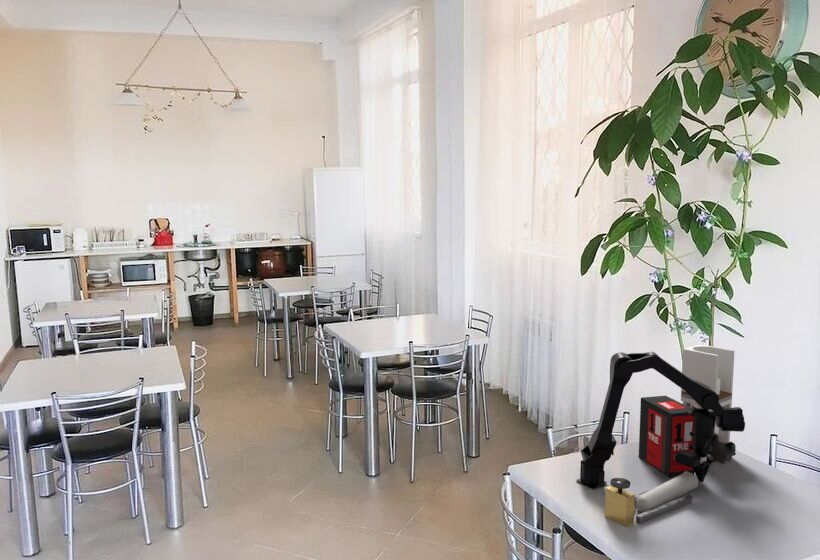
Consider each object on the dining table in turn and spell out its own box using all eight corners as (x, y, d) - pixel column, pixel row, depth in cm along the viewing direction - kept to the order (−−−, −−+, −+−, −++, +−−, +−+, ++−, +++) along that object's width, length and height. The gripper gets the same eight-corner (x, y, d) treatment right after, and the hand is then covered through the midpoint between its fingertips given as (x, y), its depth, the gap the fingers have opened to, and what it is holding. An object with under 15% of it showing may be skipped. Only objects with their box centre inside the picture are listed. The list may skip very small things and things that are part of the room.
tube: (651, 505, 184) (700, 479, 200) (634, 492, 188) (684, 467, 203) (645, 520, 186) (694, 493, 202) (628, 508, 190) (678, 482, 205)
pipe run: (599, 515, 186) (600, 477, 185) (663, 491, 201) (665, 455, 200) (626, 529, 179) (628, 490, 177) (692, 503, 193) (693, 466, 192)
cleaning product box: (638, 457, 226) (640, 397, 224) (663, 454, 228) (665, 395, 226) (668, 477, 210) (671, 413, 208) (694, 474, 212) (697, 411, 210)
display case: (678, 453, 229) (683, 349, 225) (696, 445, 236) (701, 344, 231) (711, 463, 220) (716, 355, 216) (728, 455, 227) (734, 350, 222)
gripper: (709, 445, 189) (706, 499, 191) (749, 431, 199) (745, 483, 201) (674, 433, 198) (671, 485, 200) (713, 420, 209) (710, 470, 211)
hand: (701, 481), depth 203 cm, fingers closed
